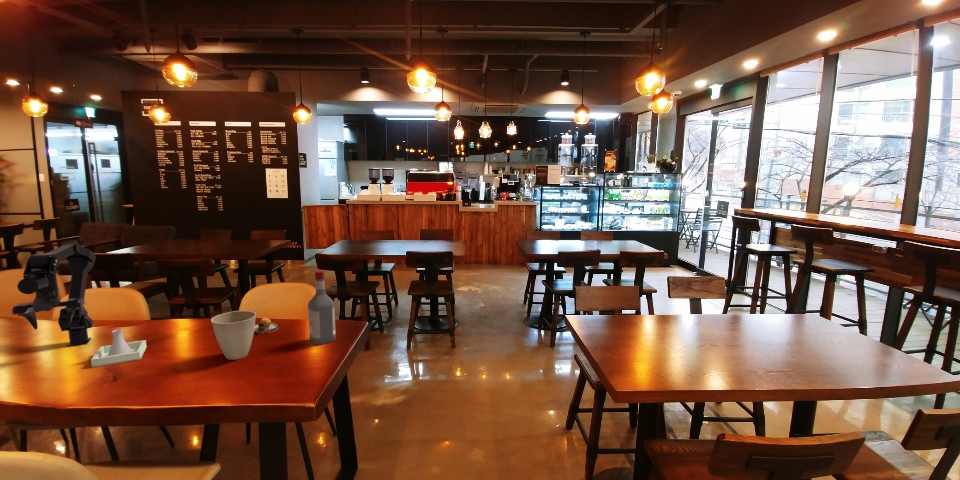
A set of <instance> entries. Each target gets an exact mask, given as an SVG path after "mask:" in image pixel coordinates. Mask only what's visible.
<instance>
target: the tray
mask: <svg viewBox="0 0 960 480" xmlns="http://www.w3.org/2000/svg"><path fill="white" fill-rule="evenodd" d="M126 343H127V344H128V346H129V347H130V349H131V350H132V353H125V354H119V355H112V356H108V354H109V351H110V348H111V345H112V344H110V345H103V346H100V347H99V349H98V350H97V351H96V352H95V354H94V355H93V357H91V359H90V363H91V368H98V367H103V366H110V365H116V364H122V363H129V362H133V361H134V362H135V361H141V359H142V357H143V355H144V354H145V353H144V352H145V351H146V349H147V340H146V339H145V340H144V339H143V340H136V341H131V342H126Z"/></svg>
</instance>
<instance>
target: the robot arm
mask: <svg viewBox="0 0 960 480" xmlns="http://www.w3.org/2000/svg"><path fill="white" fill-rule="evenodd" d="M96 259H97V256H96V254H95V253H94V251H92V250H91V249H89V248H87V247H84V246H82V245H81V244H79V243H64V244H62V245H61V246H59V247H56V248H54V249H53V250H50V251H49V252H48V251H47V252H43V253H36V254H31V255H30V256H29V258H28V259H27V261H26V264H25V267H24V271H23V274H22V275H23V276H22V277H23V279H21V280H20V281H19V282H18V283H17V290H18V291H19V292H20V293H22V294H23V295H33V294H35V298H34V299H33V301H32V302H31V301H30V302H21V303H18V304H16V305H14V306H13V307H12V309H11V312H12V315H17V316H18V317H23V318H25V319H26V320H27V321H28V322H29V324H30V325H31V326H32V328H33V329H34V330H35V331H37V330H38V321H37V316H36V313H40V312H49V311H52V310H53V308H61V307H64V308H61V309H59V317H58V321H57V324H58V327H59V328H60V330H61V332H66V331H67V332H68V339H69V340H68V341H69V342H68V343H67V344H66V347H73V346H80V345H86V344H89V342H90V341H91V340H92V337H89V333H88V329H90V328H93V325H94V320H93V319H92V318H90V316H89V315H88V311H87V309H86V308H85V306H84V305H85V302H86V300H85V296H86V288H87V282H88V281H87V280H88V278H87V277H88V273H89V272H90V270H92V269H93V267H94V265H95V262H96ZM64 260H65V261H67V266H68V267H69V268H70V270H71V276H70V277H71V278H70V284H69V292H68V299H67V300H63V301H61V297H60V293H59V292H60V291H59V290H60V288H59V285H58V280H57V279H58V278H57V274H58V273H59V270H58V269H57V268H58V267H59V266H60V265H61V261H64Z"/></svg>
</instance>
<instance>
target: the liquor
mask: <svg viewBox="0 0 960 480" xmlns="http://www.w3.org/2000/svg"><path fill="white" fill-rule="evenodd" d="M314 278H315V294H314V295H313V296H312V297H311V298H310V300H309V301H308V303H307V310H308V311H307V313H308V314H307V315H308V330H309V340H310V342H311V343H313V344H314V345H320V346H321V345H324V344H325V345H326V344H329V343H333V342H334V341H335V340H336V337H337V336H336V316H335V313H336V312H335V311H336V310H335V303H334V302H335V301H334V300H333V299H332V298H331V297H330V296H329V295H328V294H327V293H326V289H325V287H326V286H325V271H324V270H316V271H314Z"/></svg>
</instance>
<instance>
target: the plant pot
mask: <svg viewBox="0 0 960 480" xmlns="http://www.w3.org/2000/svg"><path fill="white" fill-rule="evenodd" d="M256 317H257V313H256V312H254V311H252V310H235V311H234V310H233V311H228V312H225V313H221V314H217V315H215V316H213V317H212V318H211V319H210V321H211V324H212V329H213V331H214V335H215V338H216V341H217V344H218V345H219V347H220V350H221V352H222V353H223V355H224V357H225V358H226V359H227V360H230V361H232V360H235V361H236V360H241V359H242V358H245V357H247V356H248V354H249V351H250V350H251V346H252V343H253V337H254V335H255V334H254V328H255V325H256Z"/></svg>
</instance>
